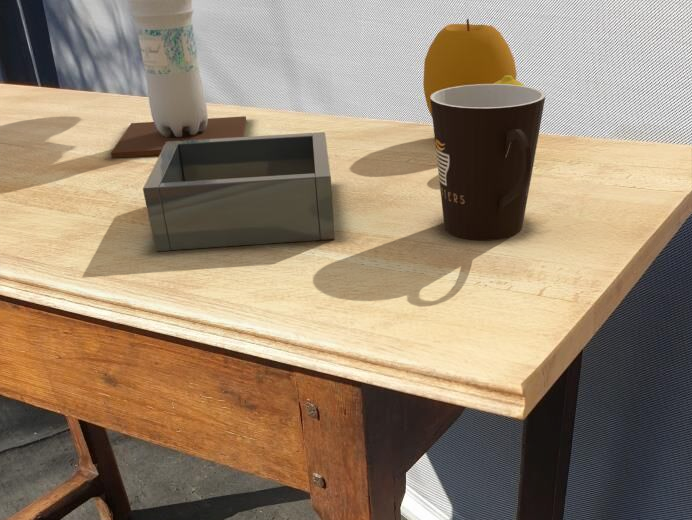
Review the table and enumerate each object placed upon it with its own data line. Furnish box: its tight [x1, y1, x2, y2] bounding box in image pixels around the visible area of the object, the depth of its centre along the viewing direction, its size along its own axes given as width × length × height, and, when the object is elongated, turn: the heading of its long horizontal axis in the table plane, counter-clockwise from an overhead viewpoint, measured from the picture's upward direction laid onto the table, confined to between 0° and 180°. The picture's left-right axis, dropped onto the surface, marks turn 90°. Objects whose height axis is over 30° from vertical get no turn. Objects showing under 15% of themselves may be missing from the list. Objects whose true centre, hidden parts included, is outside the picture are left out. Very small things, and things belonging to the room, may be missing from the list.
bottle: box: [127, 0, 209, 137], centre depth 91 cm, size 7×7×20 cm
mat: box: [110, 115, 247, 159], centre depth 96 cm, size 14×14×1 cm
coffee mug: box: [430, 84, 546, 241], centre depth 64 cm, size 12×9×10 cm
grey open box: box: [142, 131, 336, 252], centre depth 71 cm, size 14×14×5 cm
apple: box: [422, 18, 518, 117], centre depth 88 cm, size 10×10×12 cm
